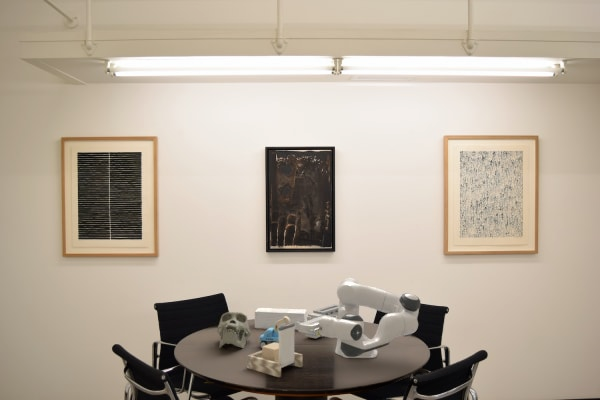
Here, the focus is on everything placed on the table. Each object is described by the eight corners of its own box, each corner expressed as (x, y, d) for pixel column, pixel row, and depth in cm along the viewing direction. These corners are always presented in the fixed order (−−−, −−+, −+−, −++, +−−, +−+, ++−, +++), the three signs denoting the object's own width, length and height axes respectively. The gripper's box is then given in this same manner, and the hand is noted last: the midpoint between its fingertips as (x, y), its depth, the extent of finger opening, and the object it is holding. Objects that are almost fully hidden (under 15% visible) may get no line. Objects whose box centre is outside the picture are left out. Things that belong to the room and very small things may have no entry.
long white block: (306, 326, 312) (306, 309, 312) (304, 330, 301) (304, 313, 301) (258, 324, 317) (258, 307, 317) (254, 328, 306) (254, 311, 306)
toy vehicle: (304, 338, 284) (304, 312, 284) (334, 327, 308) (334, 304, 308) (315, 340, 279) (315, 315, 279) (344, 329, 303) (345, 306, 303)
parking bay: (302, 366, 237) (302, 354, 237) (278, 377, 222) (278, 364, 222) (271, 358, 249) (271, 346, 249) (247, 367, 235) (247, 355, 235)
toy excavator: (287, 350, 261) (287, 319, 261) (258, 348, 265) (258, 317, 265) (291, 345, 270) (291, 315, 270) (262, 344, 273) (262, 313, 273)
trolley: (295, 366, 235) (295, 322, 235) (279, 373, 226) (280, 327, 226) (273, 360, 244) (273, 318, 244) (257, 367, 234) (257, 323, 234)
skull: (217, 354, 278) (210, 340, 254) (223, 318, 289) (216, 302, 265) (249, 356, 277) (245, 343, 253) (254, 320, 288) (250, 305, 264)
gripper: (313, 339, 208) (288, 333, 216) (339, 328, 224) (315, 323, 232) (313, 324, 208) (288, 319, 216) (339, 315, 224) (315, 310, 232)
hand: (302, 321), depth 224 cm, fingers open, 8 cm apart
